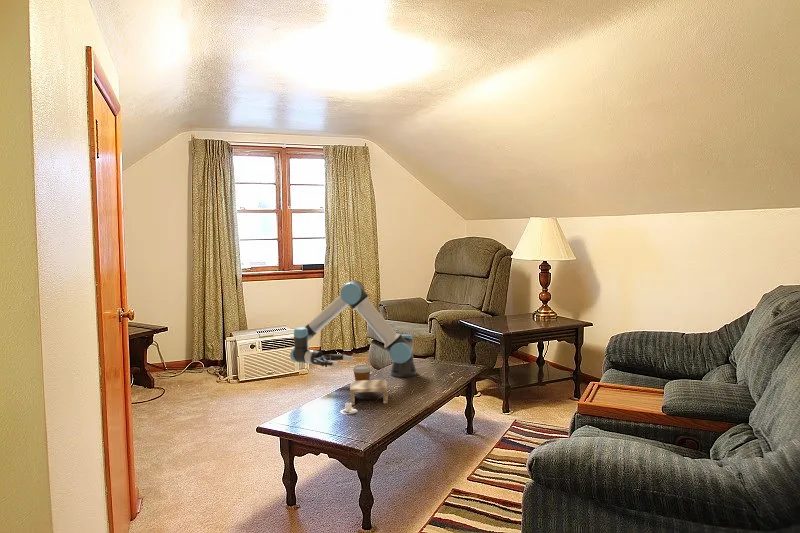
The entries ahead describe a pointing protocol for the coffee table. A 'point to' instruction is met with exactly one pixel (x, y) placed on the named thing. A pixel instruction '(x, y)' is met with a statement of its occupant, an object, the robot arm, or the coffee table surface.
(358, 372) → the disposable coffee cup
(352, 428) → the coffee table surface
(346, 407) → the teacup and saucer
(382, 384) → the maple shelf
